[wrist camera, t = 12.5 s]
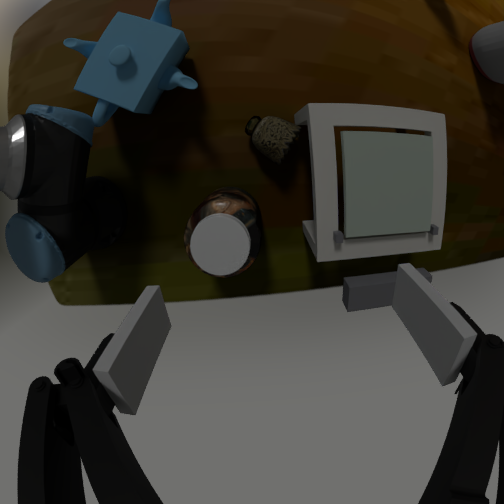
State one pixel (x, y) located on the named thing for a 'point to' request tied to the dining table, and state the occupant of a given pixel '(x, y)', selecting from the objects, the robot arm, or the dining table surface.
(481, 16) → the dining table surface
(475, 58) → the citrus juicer
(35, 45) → the dining table surface
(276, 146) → the cup
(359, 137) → the trapdoor
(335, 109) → the frame
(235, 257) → the jar
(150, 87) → the teakettle
